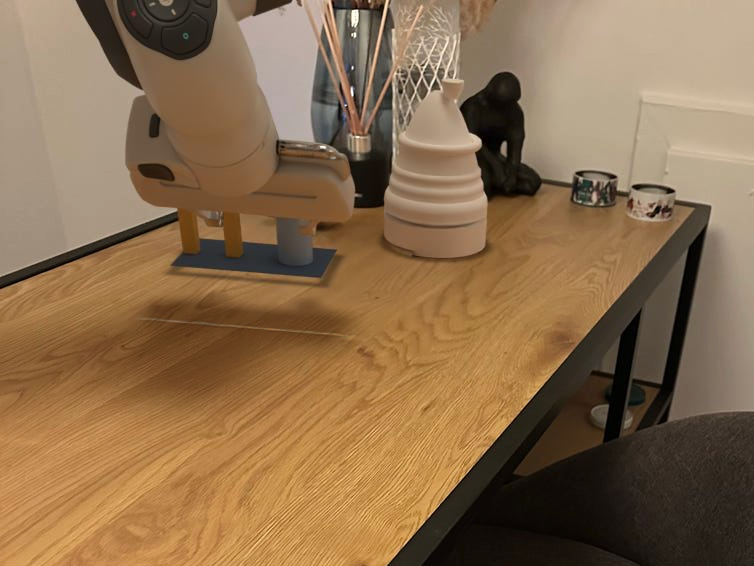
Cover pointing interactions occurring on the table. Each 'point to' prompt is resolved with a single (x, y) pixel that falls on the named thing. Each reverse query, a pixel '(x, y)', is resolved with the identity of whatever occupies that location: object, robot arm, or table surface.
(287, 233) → the grey cylinder
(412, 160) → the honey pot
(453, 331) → the table surface
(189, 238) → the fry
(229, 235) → the post
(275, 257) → the mat
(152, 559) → the table surface
